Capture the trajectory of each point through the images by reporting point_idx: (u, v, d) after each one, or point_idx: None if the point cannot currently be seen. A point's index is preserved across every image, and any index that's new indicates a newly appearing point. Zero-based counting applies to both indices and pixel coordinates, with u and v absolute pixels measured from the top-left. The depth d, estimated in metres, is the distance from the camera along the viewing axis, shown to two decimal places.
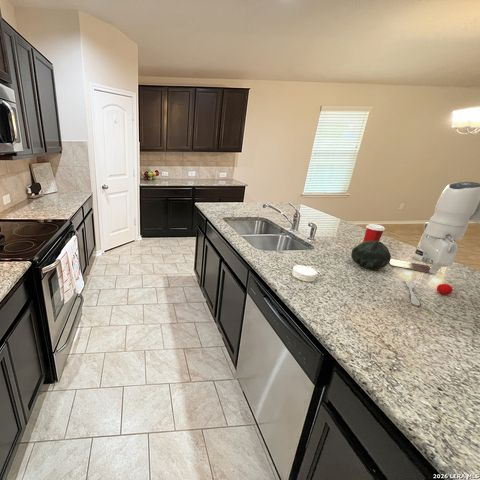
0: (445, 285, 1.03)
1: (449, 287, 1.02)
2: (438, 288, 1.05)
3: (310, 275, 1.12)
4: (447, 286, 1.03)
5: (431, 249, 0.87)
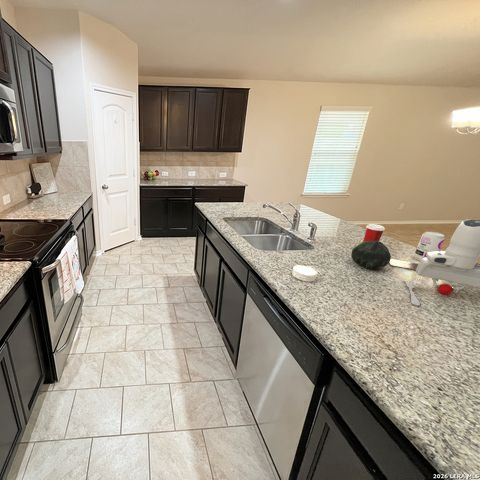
0: (445, 285, 1.03)
1: (449, 287, 1.02)
2: (438, 288, 1.05)
3: (310, 275, 1.12)
4: (447, 286, 1.03)
5: (461, 277, 0.99)
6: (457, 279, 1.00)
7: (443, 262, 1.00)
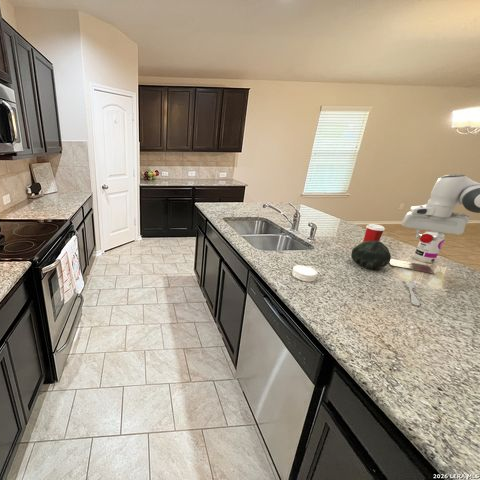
0: (426, 234, 1.18)
1: (430, 236, 1.17)
2: (421, 238, 1.19)
3: (310, 275, 1.12)
4: (428, 235, 1.17)
5: (440, 226, 1.14)
6: (436, 228, 1.15)
7: (424, 213, 1.14)
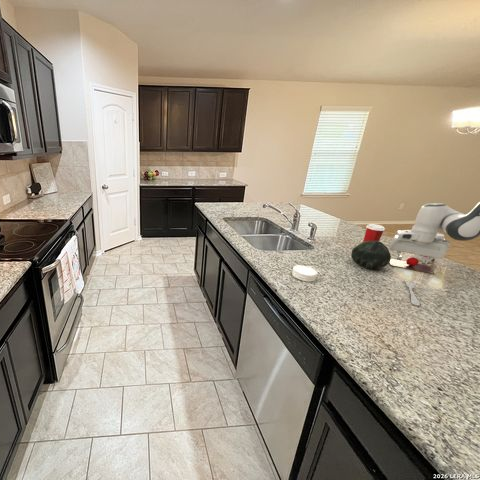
0: (413, 259, 1.26)
1: (416, 260, 1.25)
2: (407, 260, 1.27)
3: (310, 275, 1.12)
4: (415, 260, 1.25)
5: (424, 250, 1.22)
6: (420, 251, 1.23)
7: (409, 238, 1.22)
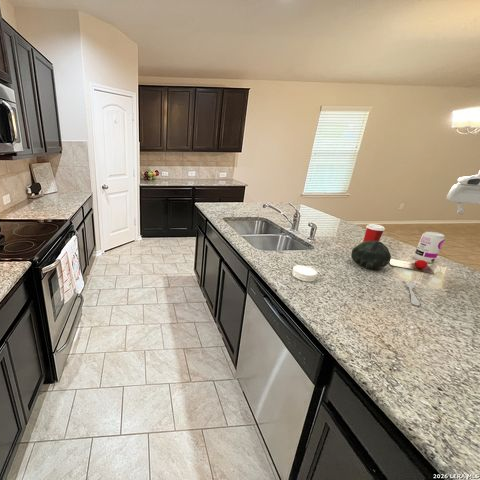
0: (425, 266, 1.23)
1: (423, 268, 1.23)
2: (421, 262, 1.23)
3: (310, 275, 1.12)
4: (424, 267, 1.23)
5: None
6: None
7: (477, 183, 0.98)
